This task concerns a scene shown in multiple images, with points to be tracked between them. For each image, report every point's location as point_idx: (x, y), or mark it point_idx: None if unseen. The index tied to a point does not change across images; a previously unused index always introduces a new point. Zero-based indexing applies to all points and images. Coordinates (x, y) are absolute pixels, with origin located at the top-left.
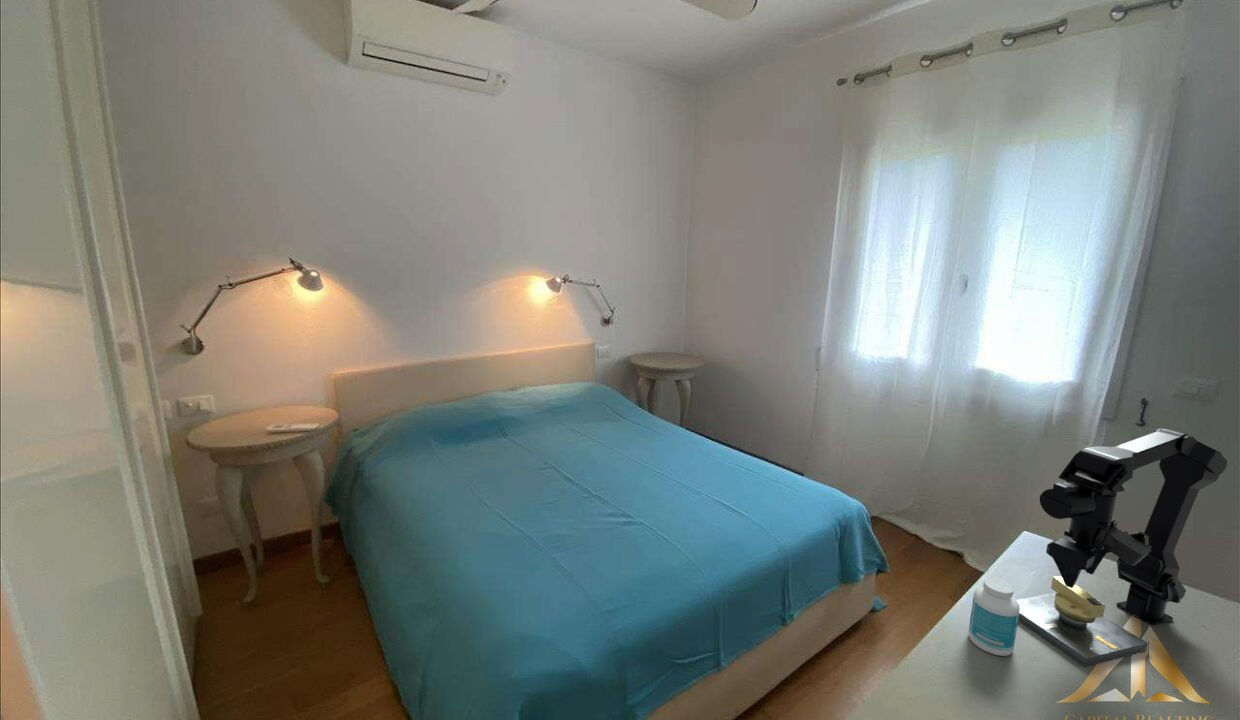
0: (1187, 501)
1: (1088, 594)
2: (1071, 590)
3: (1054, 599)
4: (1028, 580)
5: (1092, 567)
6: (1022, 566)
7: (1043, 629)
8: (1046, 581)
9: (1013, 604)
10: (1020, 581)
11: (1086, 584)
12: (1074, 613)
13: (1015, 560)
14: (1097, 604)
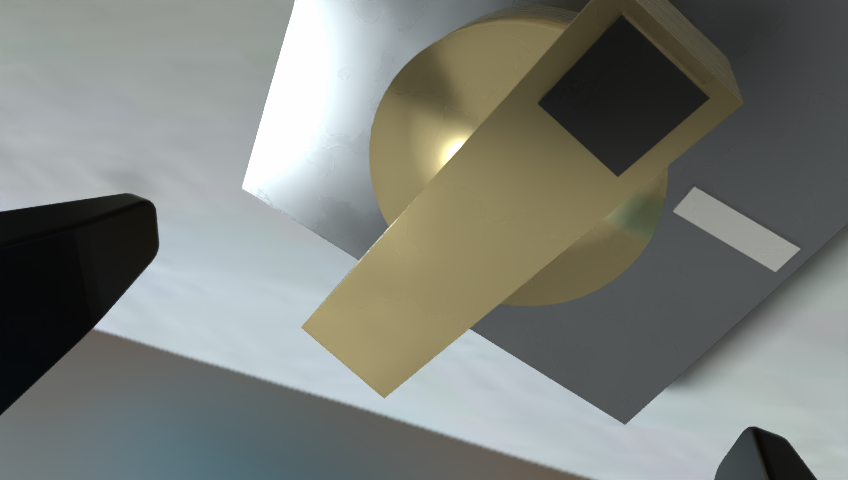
0: None
1: (477, 156)
2: (514, 287)
3: (358, 210)
4: (235, 283)
5: (69, 259)
6: (146, 302)
7: (805, 258)
8: (170, 218)
9: None
10: (275, 311)
11: (26, 67)
12: (667, 167)
13: (128, 323)
14: (673, 62)
